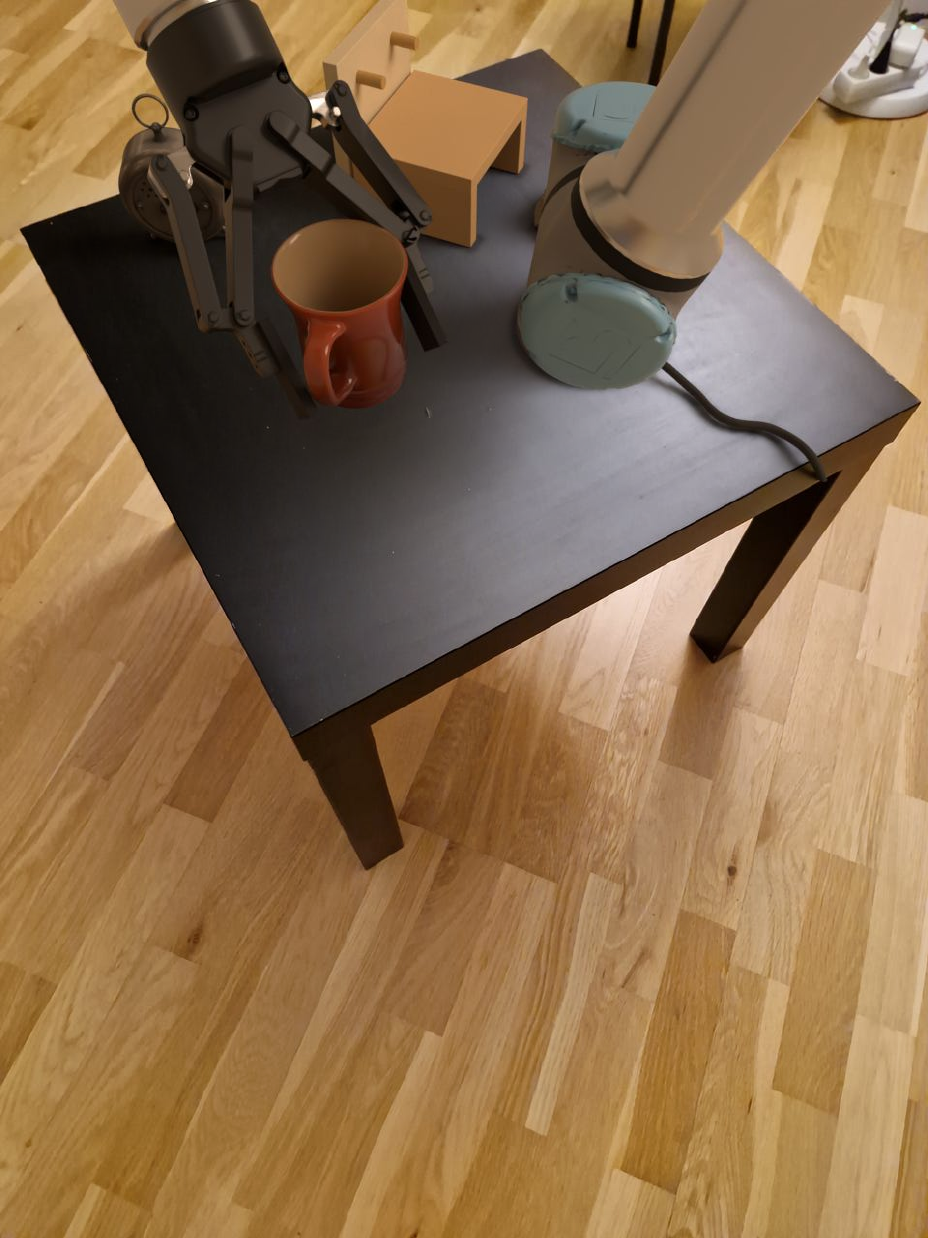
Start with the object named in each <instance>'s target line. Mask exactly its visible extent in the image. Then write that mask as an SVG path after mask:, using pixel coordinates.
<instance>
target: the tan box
mask: <svg viewBox="0 0 928 1238" xmlns="http://www.w3.org/2000/svg"><path fill="white" fill-rule="evenodd" d="M419 47H420V39H419V37H418V36H415V35H411V34H410V29H409V8H408V0H378V1H377V2H376V3H375V5H374V6H373V7H371V9H369V11H368V12H367V13H366V14H365V15H364V16H363V18H361V19H360V20H359V22H357V24H356V25H355V26H354V27H353V28H352V29H351V30H350V31H349V32H348V34H346V36H345V37H344V38H343V39H342V40H341V41H340V42H339V43H337V45H336V46H335V47H334V49H332V51H330V52H329V54H328V55H327V56H326V57H325V58H324V59H323V61H322V62H321V63H322V70H323V76H324V77H323V78H324V85H325V91H326V90H329V89H330V88H331V86H332V85H333V83H334V82H335V81H337V80H343V81H345V82H346V83H347V84H348V85H349V87H350V89H351V92H352V95H353V97H354V100H355V102H356V105H357V108H358V110H359V113H360V116H361V117H362V119H363V120H364V121H365V123H366V124H367V125H368V127H369V128H370V129H371V131H372V132H373V133H374V135H375V136H376V137H377V139H378V140H379V141H380V143H381V144H382V145H383V147H384V148H385V150H386V151H387V152H388V154H389V155H390V156H391V158H392V159H393V160H394V162H395V163H396V164H397V166H398V167H399V168H400V170H401V171H402V172H403V174H404V175H405V176H406V178H407V179H408V180H409V182H410V183H411V184H412V186H413V187H414V188H415V190H416V191H417V192H418V194H419V195H420V196H421V198H422V199H423V200H424V202H425V203H426V205H427V206H428V207H429V209H430V210H431V212H432V215H433V219H432V222H431V223H430V224H429V225H428V226H427V227H426V228H425V229H424V230H423V231H422V233H421V234H422V235H425V236H429V237H432V238H436V239H439V240H443V241H447V242H449V243H453V244H457V245H460V246H462V247H467V248H472V246H473V245H474V243H475V242H476V240H477V210H478V209H477V208H478V207H477V206H478V201H477V200H478V184H479V183H480V181H481V180H482V179H483V177H484V176H485V174H487V172H488V170H489V169H490V167H491V168H494V169H497V170H500V171H501V170H502V171H504V172H505V171H506V172H509V173H513V174H516V175H518V174H519V173H520V172H521V171H522V169H523V167H524V159H525V143H526V142H525V141H526V128H527V113H528V101H529V100H528V99H529V98H528V97H525V96H521V95H517V94H514V93H509V92H506V91H501V90H498V89H493V88H489V87H485V86H482V85H476V84H473V83H469V82H465V81H461V80H457V79H453V78H449V77H445V76H441V75H437V74H432V73H428V72H425V71H421V70H418V69H413V70H412V66H411V51H415V52H416V51H418V50H419ZM331 133H332V132H331ZM331 135H332V143H333V150H334V157H335V163H336V164H337V165H338V166H339V167H340V168H341V169H342V170H344V171H345V172H346V173H347V174H348V175H349V176H351V177H352V178H353V179H354V180H355V181H356V182H358V183H359V184H360V185H361V186H362V187H363V188H365V189H366V190H367V191H368V192H369V193H371V194H372V195H373V196H374V197H375V198H376V199H378V200H379V201H380V202H381V203H382V204H383V205H385V204H384V202H383V201H382V200H381V199H380V197H379V196H378V195H377V193H376V192H375V191H374V189H373V188H372V187H371V186H370V184H369V183H368V182H367V180H366V179H365V178H364V176H363V175H362V174H361V173H360V171H359V170H358V169H357V167H356V166H355V165H354V163H353V162H352V161H351V160H350V158H349V157H348V156H347V154H346V153H345V152H344V150H343V149H342V148H341V146H340V145H339V143H338V142H337V140H336V139H335V137H334V135H333V133H332V134H331ZM385 206H386V205H385ZM386 207H387V206H386Z"/></svg>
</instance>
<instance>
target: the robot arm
mask: <svg viewBox="0 0 928 1238" xmlns="http://www.w3.org/2000/svg"><path fill="white" fill-rule="evenodd" d="M893 1H894V0H706V2H705V3H704V5H703V7H702V8H701V10H700V12H699V13H698V16H697V17H696V19H695V21H694V22H693V24H692V26H691V27H690V29H689V30H688V32H687V35H685V38H684V39H683V41H682V43H681V44H680V46H679V47H678V50H677V51H676V53H675V55H674V56H673V58H672V60H671V61H670V63H669V65H668V66H667V68H666V69H665V72H664V73H663V75H662V77H661V79H660V80H659V82H658V84H657V86H655V85H651V84H647V83H641V82H634V81H620V80H619V81H602V82H596V83H592V84H588V85H585V86H582V87H579V88H577V89H575V90H573V91H572V92H570V93H568V94H567V95H566V96H565V97H564V98H563V99H562V100H561V102H560V103H559V105H558V107H557V109H556V113H555V118H554V122H553V123H554V124H553V127H552V129H551V130H550V138H551V139H552V143H551V153H550V162H549V169H548V176H547V183H546V188H545V189H546V193H545V198H544V203H543V208H542V214H541V218H540V223H539V228H538V227H537V233H536V238H535V241H534V248H533V252H532V255H531V256H532V257H531V262H530V267H529V270H528V276H527V279H526V280H527V281H526V285H525V290H524V292H523V294H522V295H521V298H520V300H519V303H518V307H517V315H516V316H517V318H516V335H517V339H518V342H519V344H520V346H521V348H522V350H523V351H524V353H525V355H526V356H528V358H529V359H530V360H531V361H532V362H533V363H534V364H535V365H537V367H539V368H540V369H542V370H543V371H544V373H546V374H547V375H549V376H551V377H552V378H554V379H557V380H558V381H560V382H563V383H564V384H567V385H570V386H573V387H576V388H581V389H585V390H591V391H593V390H594V391H606V390H608V389H619V390H621V389H627V388H630V387H633V386H636V385H639V384H641V383H643V382H646V381H647V380H649V379H650V378H652V377H653V376H655V375H656V374H657V373H658V372H659V371H660V370H662V371H663V372H665V373H666V374H667V375H668V376H669V377H670V378H671V379H673V380H674V382H676V383H677V384H678V385H679V386H681V387H682V388H683V389H684V390H685V391H686V392H687V393H688V394H690V396H691V397H693V398H694V400H696V401H697V402H698V404H699V405H700V406H701V407H702V409H704V411H706V413H708V414H709V415H710V416H711V417H712V418H713V419H715V420H717V421H718V422H720V423H721V424H723V425H725V426H729V427H730V428H731V427H732V428H736V429H742V430H752V431H761V432H766V433H769V434H772V435H774V436H775V437H778V438H780V439H781V440H783V441H785V442H787V443H789V444H790V445H792V447H795V448H796V449H797V450H798V451H800V452H801V454H802V455H803V456H804V457H805V458H806V459H807V461H808V462H809V464H810V466H811V468H812V469H813V472H814V474H815V477H816V479H817V480H818V481H819V482H822V483H826V482H827V481H828V477H827V473H826V472H825V469H824V466H823V465H822V462H821V461H820V458H819V457H818V455H817V454H816V452H815V451H814V450H813V449H812V447H810V445H808V444H807V443H806V442H805V441H804V440H802V439H801V438H800V437H798V436H797V435H795V434H793V432H790V431H789V430H787V429H785V428H783V427H780V426H779V425H776V424H773V423H771V422H767V421H760V420H751V419H750V420H749V419H740V418H736V417H733V416H730V415H727V414H726V413H724V412H722V411H721V410H720V409H718V408H717V407H716V406H714V404H712V402H711V401H710V400H709V399H708V398H707V396H705V395H704V393H703V392H701V390H700V389H698V388H697V386H695V385H694V384H693V383H692V382H691V381H690V380H688V378H686V377H685V376H684V375H683V374H682V373H680V372H679V371H678V370H677V369H676V368H675V367H674V366H673V365H672V364H670V362H668V360H669V358H670V356H671V353H672V350H673V347H674V345H675V344H676V339H677V336H678V327H677V324H676V321H677V318H678V316H679V314H680V312H681V310H682V309H683V308H684V306H685V305H686V304H687V302H689V300H690V299H691V297H692V296H693V295H694V294H695V292H696V291H697V290H698V289H699V288H700V286H701V285H702V284H703V283H704V281H705V280H706V279H707V278H708V276H709V275H710V274H711V273H712V271H713V270H714V269H715V267H716V266H717V265H718V264H719V262H720V260H721V259H722V256H723V254H724V247H725V241H724V240H725V238H724V233H723V227H722V223H723V222H724V221H725V219H726V218H727V217H728V216H729V214H730V213H731V212H732V211H733V209H734V208H735V207H736V205H737V204H738V202H739V201H740V200H741V199H742V197H743V196H744V195H745V194H746V192H747V191H748V190H749V188H750V187H751V186H752V184H753V183H754V182H755V181H756V179H757V178H758V176H760V174H761V173H762V171H764V169H765V167H766V166H768V164H769V162H770V161H771V160H772V159H773V157H774V155H776V153H777V152H778V151H779V150H780V148H781V147H782V145H784V143H785V142H786V141H787V139H788V138H789V137H790V136H791V134H792V133H793V132H794V130H795V129H796V128H797V126H798V125H799V124H800V122H801V121H802V120H803V118H804V117H805V116H806V114H808V112H809V111H810V109H811V108H812V107H813V106H814V104H815V103H816V101H818V99H819V97H821V95H822V94H823V92H824V91H825V90H826V88H827V87H828V86H829V85H830V83H831V82H832V81H833V79H834V78H835V77H836V75H837V74H838V73H839V72H840V71H841V69H842V68H843V67H844V65H845V64H846V62H847V61H848V60H849V59H850V57H851V56H852V55H853V54H854V52H855V51H856V50H857V48H858V47H859V46H860V44H862V42H863V40H864V39H865V38H866V36H867V35H868V34H869V33H870V31H871V30H872V29H873V28H874V26H875V25H876V24H877V22H878V21H879V20H880V18H881V17H882V16H883V15H884V13H885V12H886V11H887V10H888V8H889V7H890V5H891V4H892V3H893ZM112 2H113V5H114V6H115V8H116V10H117V12H118V13H119V15H120V18H121V19H122V22H123V24H124V25H125V27H126V29H127V31H128V34H129V35H130V37H131V39H132V41H133V43H134V44H135V45H136V47H137V48H138V49H140V50H142V51H144V52H146V55H145V56H146V59H145V66H146V68H147V70H148V71H149V74H150V75H151V77H152V79H153V81H154V83H155V85H156V87H157V89H158V91H159V92H160V95H161V96H162V99H163V100H164V103H165V105H166V106H167V108H168V111H169V112H170V114H171V116H172V117H173V119H174V121H175V123H176V125H177V126H178V129H180V130H181V133H182V137H183V147H182V148H180V149H178V150H176V151H174V152H172V153H171V154H169V155H167V156H166V155H164V154H161V153H158V154H155V155H154V156H153V157H152V159H151V162H150V166H149V170H148V173H147V178H148V180H149V183H150V184H151V186H152V187H153V189H154V191H155V192H156V194H157V195H158V197H159V198H160V200H161V201H162V203H163V205H164V206H165V208H166V209H167V213H168V217H169V221H170V224H171V228H172V232H173V235H174V239H175V242H174V243H175V246H176V250H177V253H178V257H179V261H180V264H181V267H182V272H183V276H184V279H185V283H186V286H187V290H188V295H189V298H190V301H191V305H192V310H193V312H194V316H195V320H196V323H197V327H198V329H199V330H200V331H201V332H202V333H204V334H206V335H211V334H214V333H224V332H226V333H227V332H228V333H232V334H233V335H234V336H236V338H237V339H238V341H239V343H240V345H241V346H242V348H243V350H244V352H245V354H246V355H247V357H248V359H249V360H250V363H251V364H252V366H253V368H254V370H255V372H256V373H257V374H258V375H259V376H260V377H261V378H262V379H267V378H269V377H271V376H273V375H274V376H275V378H276V379H277V381H278V383H279V385H280V387H281V388H282V391H283V392H284V395H285V397H286V398H287V400H288V402H289V404H290V406H291V407H292V409H293V411H294V413H295V415H296V416H297V418H298V420H299V421H301V420H306V419H310V418H312V417H313V416H315V415H317V414H319V413H320V410H319V408H318V406H317V405H316V403H315V400H314V398H313V397H312V395H311V393H310V391H309V388H308V387H307V385H306V384H305V382H304V380H303V378H302V376H301V374H300V373H299V371H298V369H297V367H296V365H295V363H294V361H293V359H292V357H291V355H290V354H289V352H288V350H287V348H286V346H285V344H284V342H283V341H282V339H281V337H280V335H279V333H278V332H277V329H276V328H275V325H274V324H273V322H272V320H271V318H270V316H267V317H265V318H263V319H261V320H259V321H256V319H255V288H254V287H255V284H254V244H253V243H254V242H253V241H254V240H253V239H254V238H253V206H254V202H256V201H259V200H260V199H263V198H265V197H266V196H267V195H269V193H270V192H271V191H272V190H277V189H284V188H288V187H289V186H292V185H294V184H296V183H297V182H299V183H300V184H301V185H303V186H304V187H305V188H307V189H309V190H311V191H315V192H316V193H317V194H318V195H320V196H321V197H322V198H324V199H325V200H326V201H327V202H328V203H329V204H331V205H332V206H333V207H334V208H336V209H337V210H338V211H339V212H341V213H342V214H343V215H344V216H345V217H346V218H347V219H358V220H363V221H367V222H369V223H372V224H374V225H377V226H379V227H382V228H384V229H387V230H388V231H390V232H391V233H392V234H393V235H395V236H396V237H397V238H398V240H399V241H400V242H401V244H402V245H403V247H404V249H405V251H406V254H407V259H408V269H407V274H406V278H405V282H404V285H403V289H402V294H401V300H400V304H401V305H402V307H403V310H404V311H405V314H406V316H407V318H408V320H409V322H410V324H411V326H412V328H413V331H414V333H415V335H416V337H417V339H418V341H419V344H420V345H421V347H422V350H423V352H424V353H426V352H429V351H432V350H435V349H439V348H440V347H443V346H444V345H447V344H449V340H448V338H447V335H446V333H445V331H444V329H443V327H442V325H441V322H440V320H439V318H438V316H437V314H436V312H435V310H434V307H433V305H432V303H431V301H430V298H429V296H428V295H429V294H431V293H433V292H435V285H434V280H433V278H432V276H431V275H430V272H429V269H428V267H427V264H426V263H425V261H424V258H423V256H422V254H421V252H420V249H419V247H418V241H419V239H420V238H421V237H420V236H421V234H422V231H423V230H424V229H425V228H426V227H427V226H428V225H429V224H430V223H431V222H432V219H433V215H432V212H431V210H430V209H429V207H428V206H427V205H426V203H425V202H424V200H423V199H422V198H421V196H420V195H419V194H418V192H417V191H416V190H415V188H414V187H413V186H412V184H411V183H410V182H409V180H408V179H407V178H406V176H405V175H404V174H403V172H402V171H401V170H400V168H399V167H398V166H397V164H396V163H395V162H394V160H393V159H392V158H391V156H390V155H389V154H388V152H387V151H386V150H385V148H384V147H383V145H382V144H381V143H380V141H379V140H378V139H377V137H376V136H375V135H374V133H373V132H372V131H371V129H370V128H369V127H368V125H367V124H366V123H365V121H364V120H363V119H362V117H361V116H360V113H359V110H358V108H357V105H356V102H355V100H354V97H353V95H352V92H351V89H350V87H349V85H348V84H347V83H346V82H345V81H343V80H337V81H335V82H334V83H333V85H332V86H331V88H330V89H329V90H326V89H325V90H324V91H319V92H316V93H313V94H309V95H307V94H306V93H305V92H304V91H303V90H302V89H301V88H299V87H298V85H297V84H296V83H295V82H294V80H293V79H292V77H291V75H290V72H289V70H288V67H287V64H286V61H285V59H284V56H283V54H282V52H281V50H280V49H279V46H278V45H277V42H276V39H275V38H274V35H273V34H272V31H271V29H270V26H268V23H267V20H266V19H265V16H264V15H263V12H262V10H261V8H260V6H259V5H258V4H257V3H256V2H254V1H252V0H112ZM313 119H314V120H316V121H318V122H319V123H320V124H321V126H322V128H323V129H324V130H325V131H328V132H331V133H333V135H334V137H335V139H336V140H337V142H338V143H339V145H340V146H341V148H342V149H343V150H344V152H345V153H346V154H347V156H348V157H349V158H350V160H351V161H352V162H353V163H354V165H355V166H356V167H357V169H358V170H359V171H360V173H361V174H362V175H363V176H364V178H365V179H366V180H367V182H368V183H369V184H370V186H371V187H372V188H373V189H374V191H375V192H376V193H377V195H378V196H379V197H380V199H381V200H382V201H383V202H384V204H385V205H386V206H387V207H386V206H385V205H383V204H382V203H381V202H380V201H379V200H378V199H376V198H375V197H374V196H373V195H372V194H371V193H369V192H368V191H367V190H366V189H365V188H363V187H362V186H361V185H360V184H359V183H358V182H356V181H355V180H354V179H353V178H352V177H351V176H349V175H348V174H347V173H346V172H345V171H344V170H342V169H341V168H340V167H339V166H338V165H337V164H336V161H335V160H334V157H333V156H332V155H331V153H329V152H328V151H327V150H326V149H324V147H322V145H320V144H319V143H317V142H316V140H314V139H313V138H312V126H313ZM193 167H194V168H195V169H197V170H198V171H200V172H201V173H203V174H205V175H206V176H208V177H209V178H211V179H212V180H214V181H216V182H217V183H219V184H220V185H222V186H223V213H224V218H225V225H224V226H225V233H224V234H225V258H226V259H225V264H226V265H225V266H226V267H225V269H226V298H227V300H226V302H227V303H226V304H227V307H221V303H220V298H219V295H218V290H217V288H216V283H215V281H214V276H213V272H212V268H211V265H210V261H209V257H208V254H207V250H206V245H205V241H203V238H202V234H201V230H200V226H199V223H198V219H197V215H196V211H195V207H194V204H193V201H192V197H191V195H190V193H189V191H190V190H191V187H192V185H193V178H192V175H191V168H193Z"/></svg>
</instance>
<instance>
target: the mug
mask: <svg viewBox="0 0 928 1238" xmlns="http://www.w3.org/2000/svg"><path fill="white" fill-rule="evenodd" d="M407 269H408V259H407V254H406V251H405V249H404V247H403V245H402V244H401V242H400V241H399V240H398V238H397V237H396V236H395V235H393V234H392V233H391V232H390V231H388V230H387V229H384V228H382V227H379V226H377V225H374V224H372V223H369V222H367V221H363V220H358V219H349V218H334V219H333V218H332V219H327V220H322V221H318V222H315V223H311V224H310V225H307V226H305V227H303V228H300V229H299V230H297V231H295V232H293V234H290V236H288V237H287V238H286V239H285V240H284V241H283V242H282V243H281V244H280V246H279V247H278V248H277V250H276V252H275V254H274V255H273V258H272V261H271V265H270V277H271V282H272V284H273V287H274V290H275V291H276V292H277V294H278V295H279V297H280V299H281V300H282V301H283V303H284V304H285V305H286V307H287V309H288V311H289V312H290V314H291V315H292V317H293V320H294V322H295V327H296V333H297V337H298V343H299V347H300V351H301V356H302V359H303V361H302V362H303V363H302V364H303V373H304V379H305V382H306V387H307V389H308V391H309V393H310V395H311V397H312V399H313V401H314V402H316V403H317V404H319V405H322V406H325V407H340V408H341V409H342V408H343V409H347V410H348V409H349V410H365V409H369V408H373V407H376V406H378V405H381V404H383V403H384V402H387V400H389V399H390V398H391V397H393V396H394V395H395V394H396V393H398V391H399V389H400V387H402V385H403V382H404V379H405V375H406V370H407V360H408V346H407V343H406V334H405V326H404V320H403V314H402V306H401V305H402V304H401V301H400V300H401V294H402V289H403V285H404V282H405V278H406V274H407Z"/></svg>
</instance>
